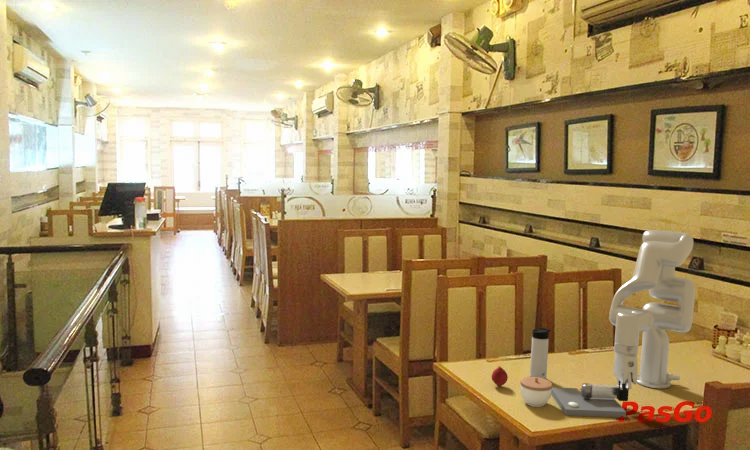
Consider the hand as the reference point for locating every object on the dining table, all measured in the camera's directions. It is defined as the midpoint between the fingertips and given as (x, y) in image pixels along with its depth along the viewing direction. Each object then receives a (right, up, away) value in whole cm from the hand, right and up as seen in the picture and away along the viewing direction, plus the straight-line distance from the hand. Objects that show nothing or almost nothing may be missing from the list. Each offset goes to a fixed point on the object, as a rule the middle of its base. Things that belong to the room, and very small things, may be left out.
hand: (622, 400), depth 210 cm
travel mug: (-21, 0, +28) cm, 35 cm away
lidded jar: (-29, -3, +4) cm, 29 cm away
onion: (-39, -1, +19) cm, 43 cm away
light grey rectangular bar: (-5, -1, +4) cm, 7 cm away
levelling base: (-11, -3, +4) cm, 12 cm away
